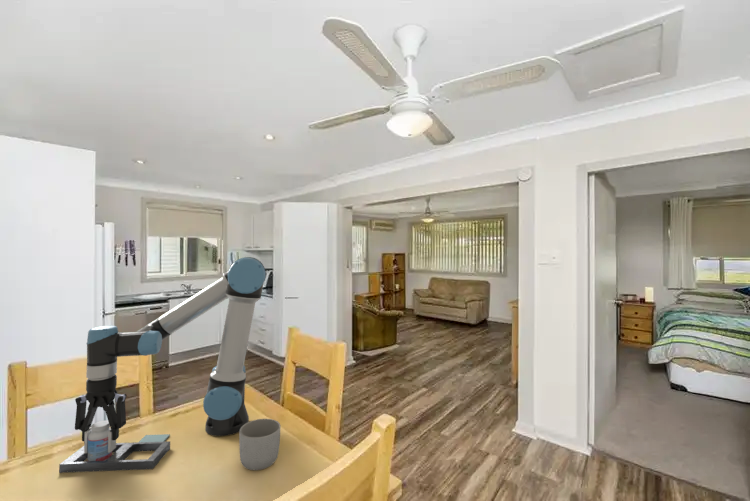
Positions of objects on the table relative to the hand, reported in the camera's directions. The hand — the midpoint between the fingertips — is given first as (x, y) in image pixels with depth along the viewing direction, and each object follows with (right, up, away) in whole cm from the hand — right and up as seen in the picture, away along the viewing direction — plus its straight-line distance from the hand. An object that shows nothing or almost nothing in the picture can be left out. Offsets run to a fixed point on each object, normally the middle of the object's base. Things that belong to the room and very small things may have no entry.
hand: (100, 450), depth 109 cm
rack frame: (+5, -3, +1) cm, 6 cm away
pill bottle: (0, -3, 0) cm, 3 cm away
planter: (+49, -5, +1) cm, 50 cm away
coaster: (+9, -4, +11) cm, 15 cm away
